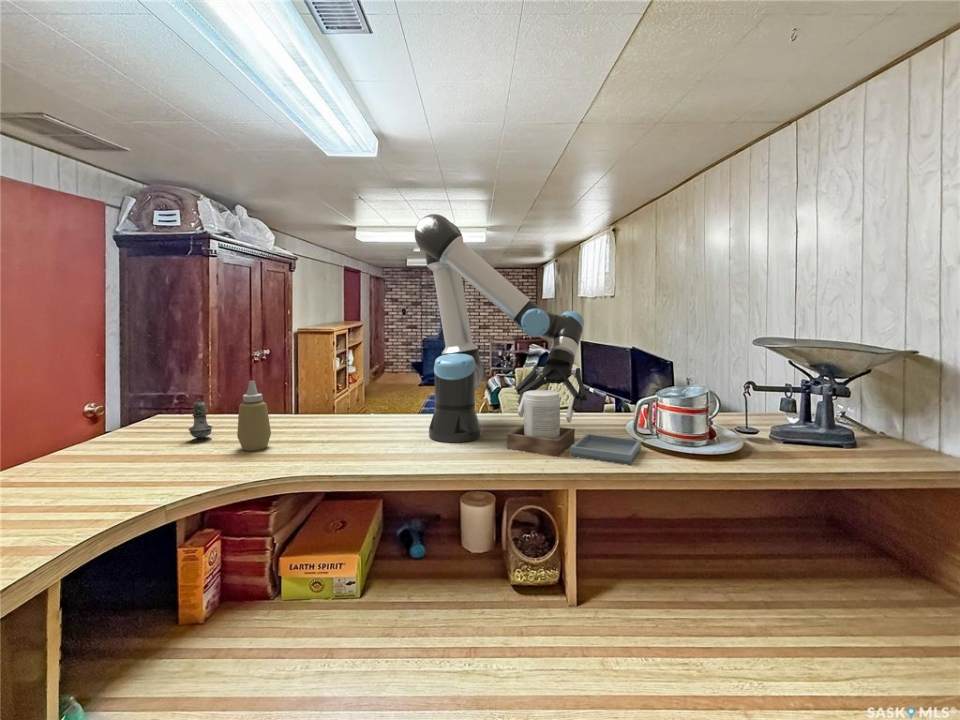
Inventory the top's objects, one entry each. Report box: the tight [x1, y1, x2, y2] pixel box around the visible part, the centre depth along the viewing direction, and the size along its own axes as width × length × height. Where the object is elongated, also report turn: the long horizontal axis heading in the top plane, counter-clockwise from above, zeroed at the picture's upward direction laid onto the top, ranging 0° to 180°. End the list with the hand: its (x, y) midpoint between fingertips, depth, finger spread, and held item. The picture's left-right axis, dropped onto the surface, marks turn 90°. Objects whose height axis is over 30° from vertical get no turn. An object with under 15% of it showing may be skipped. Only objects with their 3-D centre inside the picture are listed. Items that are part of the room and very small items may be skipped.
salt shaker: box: [187, 398, 214, 444], centre depth 132 cm, size 6×6×12 cm
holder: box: [506, 424, 576, 458], centre depth 128 cm, size 14×14×4 cm
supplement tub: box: [523, 389, 561, 440], centre depth 127 cm, size 10×10×15 cm
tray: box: [570, 433, 642, 466], centre depth 122 cm, size 15×15×2 cm
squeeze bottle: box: [236, 380, 272, 452], centre depth 125 cm, size 8×8×18 cm
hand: (543, 417), depth 126 cm, fingers open, 13 cm apart
